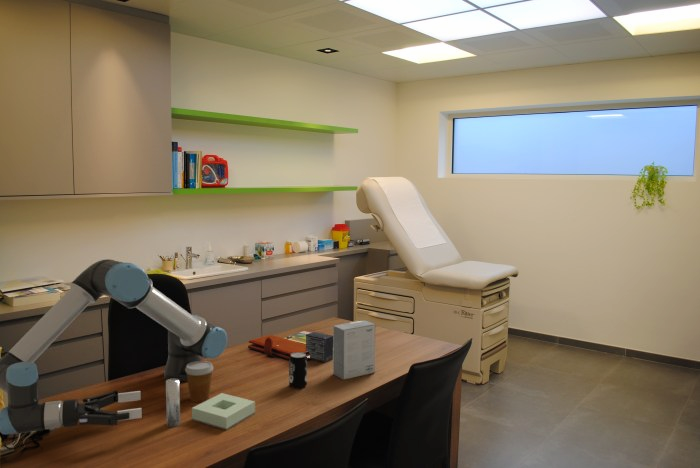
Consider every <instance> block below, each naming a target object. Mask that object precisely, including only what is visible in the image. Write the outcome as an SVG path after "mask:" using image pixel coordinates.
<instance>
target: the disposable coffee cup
mask: <svg viewBox="0 0 700 468" xmlns="http://www.w3.org/2000/svg"><path fill="white" fill-rule="evenodd" d="M213 370H214V366H213V363H212V362H210V361H206V360H202V361H195V362H191V363H189V364H187V366H186V368H185V371H186V373H187V379H188V381H187V384H188V385H187V386H188V392H189V398H190V401H191V402H194V403H195V402H196V403H200V402H201V403H203V402H205V401H207V400H209V399H210V392H211V384H212V383H211V382H212V375H213Z"/></svg>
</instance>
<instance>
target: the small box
mask: <svg viewBox="0 0 700 468" xmlns="http://www.w3.org/2000/svg"><path fill="white" fill-rule="evenodd" d="M306 351H308V352H309V353H310V359H309V360H312V361H315V362H316V361H317V362H321V363H327V362H330V361H332V360H333V334H332V335H331V334H326V333H321V332H317V331H313V332H310V333H306V334H305V352H306Z"/></svg>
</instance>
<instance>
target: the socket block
mask: <svg viewBox="0 0 700 468" xmlns="http://www.w3.org/2000/svg"><path fill="white" fill-rule="evenodd" d="M255 413H256V401H254V400H250V399H246V398H243V397H239V396H234V395H231V394H227V393H224V392H222V393H221V392H220V393H219V394H217V395H215V396H212V397H210V398H209V399H208V400H206V401H202V402H201V403H199V404H196V406H193V407H192V408H191V420H192V421H195V422H197V423H201V424H204V425H208V426H211V427H215V428H218V429H220V430H221V429H222V430H225V431H228V430H229V429H231V428H233V427H234V426H237V424H239V423H242V422H243V421H244V420H246V419H248V418H249V417H251V416H254V415H255Z"/></svg>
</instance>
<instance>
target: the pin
mask: <svg viewBox="0 0 700 468" xmlns="http://www.w3.org/2000/svg"><path fill="white" fill-rule="evenodd" d="M180 392H181V391H180V382H179V379H177V378H172V379H168V380H167V379H165V397H166V398H165V399H166V400H165V405H166V410H165V411H166V426H167V427H168V426H169V427H168V428H174V427H175V428H176V427H178V426H180V424H181V397H180V395H181V393H180Z"/></svg>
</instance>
